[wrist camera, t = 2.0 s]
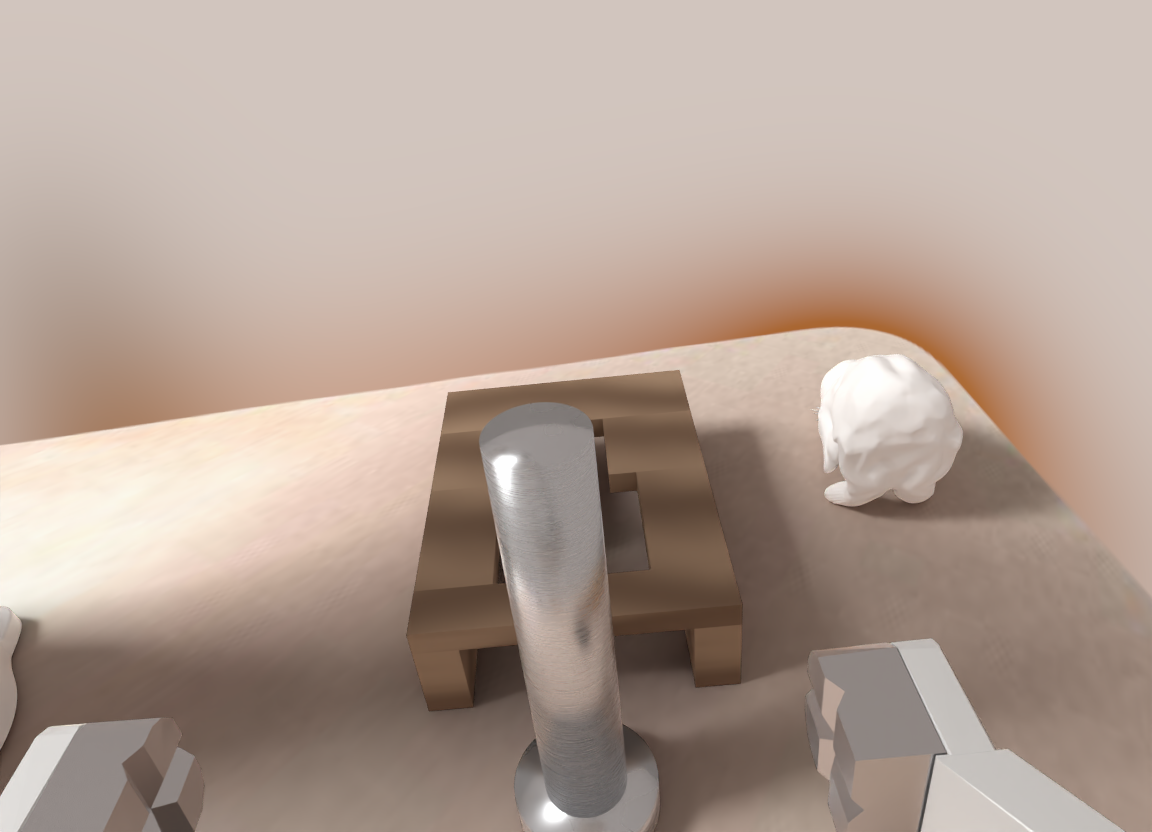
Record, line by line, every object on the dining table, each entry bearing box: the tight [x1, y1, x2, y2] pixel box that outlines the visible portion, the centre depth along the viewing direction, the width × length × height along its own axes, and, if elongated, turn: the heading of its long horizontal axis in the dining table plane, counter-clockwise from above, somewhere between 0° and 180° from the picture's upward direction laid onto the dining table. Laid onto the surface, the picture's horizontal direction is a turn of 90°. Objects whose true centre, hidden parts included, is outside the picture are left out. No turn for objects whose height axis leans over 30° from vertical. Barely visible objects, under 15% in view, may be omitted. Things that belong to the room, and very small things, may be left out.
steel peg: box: [479, 402, 660, 832], centre depth 28 cm, size 6×6×18 cm
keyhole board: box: [406, 370, 743, 711], centre depth 44 cm, size 19×14×5 cm
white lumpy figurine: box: [811, 354, 963, 506], centre depth 47 cm, size 6×8×12 cm
